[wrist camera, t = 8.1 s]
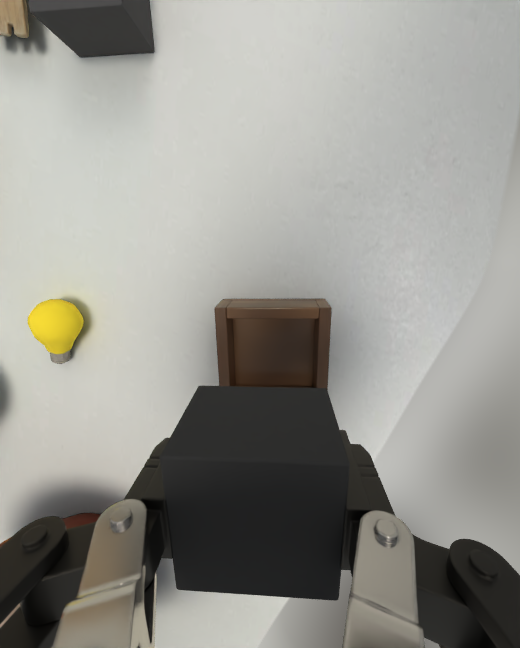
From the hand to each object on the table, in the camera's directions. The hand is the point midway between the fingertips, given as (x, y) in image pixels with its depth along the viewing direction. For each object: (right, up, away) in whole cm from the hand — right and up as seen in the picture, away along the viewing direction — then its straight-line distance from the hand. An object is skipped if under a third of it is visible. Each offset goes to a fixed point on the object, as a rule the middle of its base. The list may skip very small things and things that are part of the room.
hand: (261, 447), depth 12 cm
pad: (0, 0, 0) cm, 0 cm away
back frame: (+1, 0, +13) cm, 13 cm away
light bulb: (-16, +4, +13) cm, 21 cm away
